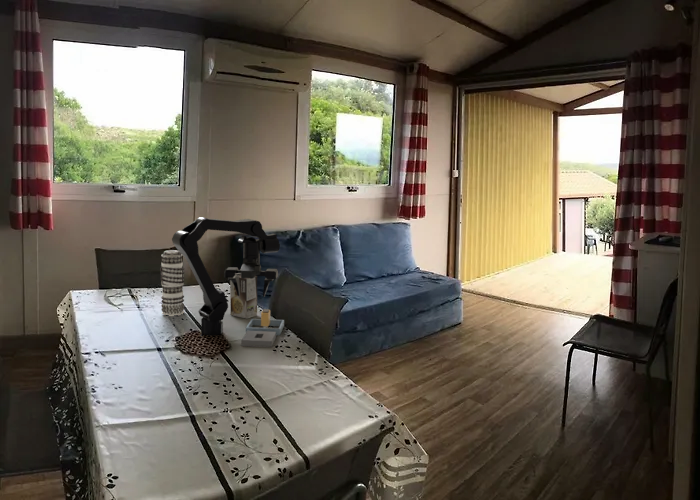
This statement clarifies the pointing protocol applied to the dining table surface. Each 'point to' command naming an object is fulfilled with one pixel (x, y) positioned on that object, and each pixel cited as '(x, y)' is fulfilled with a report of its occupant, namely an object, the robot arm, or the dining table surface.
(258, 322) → the parts tray
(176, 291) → the decorative candle
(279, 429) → the dining table surface
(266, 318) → the fuse
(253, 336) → the fuse holder
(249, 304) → the coffee box
